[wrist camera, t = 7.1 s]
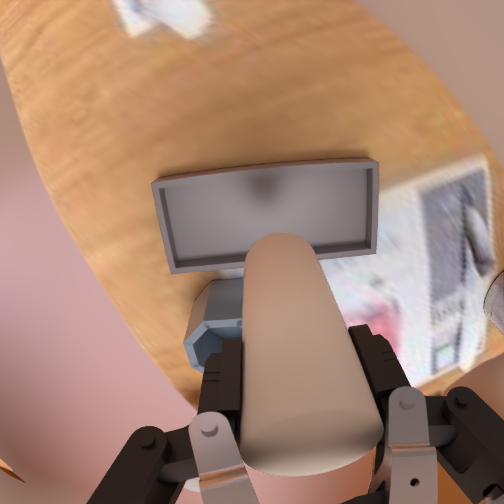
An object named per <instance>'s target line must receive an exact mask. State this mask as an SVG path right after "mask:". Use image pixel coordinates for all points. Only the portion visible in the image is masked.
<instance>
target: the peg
mask: <svg viewBox="0 0 504 504" xmlns="http://www.w3.org/2000/svg"><path fill="white" fill-rule="evenodd" d="M242 343H243V348H242V395H241V423H240V455H241V458H242V460H243V461H244V462H245V463H246V464H247V465H248V466H250V467H252V468H253V469H255V470H258V471H260V472H263V473H267V474H272V475H278V476H306V475H313V474H319V473H324V472H328V471H331V470H335V469H337V468H341V467H343V466H345V465H348V464H350V463H352V462H354V461H356V460H358V459H359V458H361V457H363V456H364V455H366V454H367V453H368V452H369V451H371V450H372V449H373V448H374V447H375V446H376V445H377V444H378V442H379V441H380V439H381V437H382V435H383V431H384V427H383V423H382V420H381V418H380V415H379V412H378V409H377V406H376V403H375V401H374V398H373V395H372V392H371V389H370V387H369V384H368V381H367V379H366V376H365V373H364V371H363V368H362V365H361V363H360V360H359V358H358V355H357V352H356V350H355V347H354V345H353V342H352V340H351V337H350V335H349V332H348V330H347V327H346V325H345V322H344V320H343V317H342V315H341V312H340V310H339V308H338V305H337V303H336V300H335V298H334V296H333V293H332V291H331V289H330V286H329V284H328V282H327V279H326V277H325V275H324V272H323V270H322V268H321V265H320V263H319V261H318V259H317V256H316V254H315V252H314V250H313V248H312V247H311V245H310V244H309V243H308V242H307V241H306V240H304V239H303V238H301V237H299V236H297V235H294V234H290V233H274V234H270V235H268V236H265V237H263V238H261V239H260V240H258V241H257V242H256V243H255V244H254V245H253V246H252V247H251V248H250V250H249V252H248V253H247V256H246V259H245V264H244V295H243V333H242Z"/></svg>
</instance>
